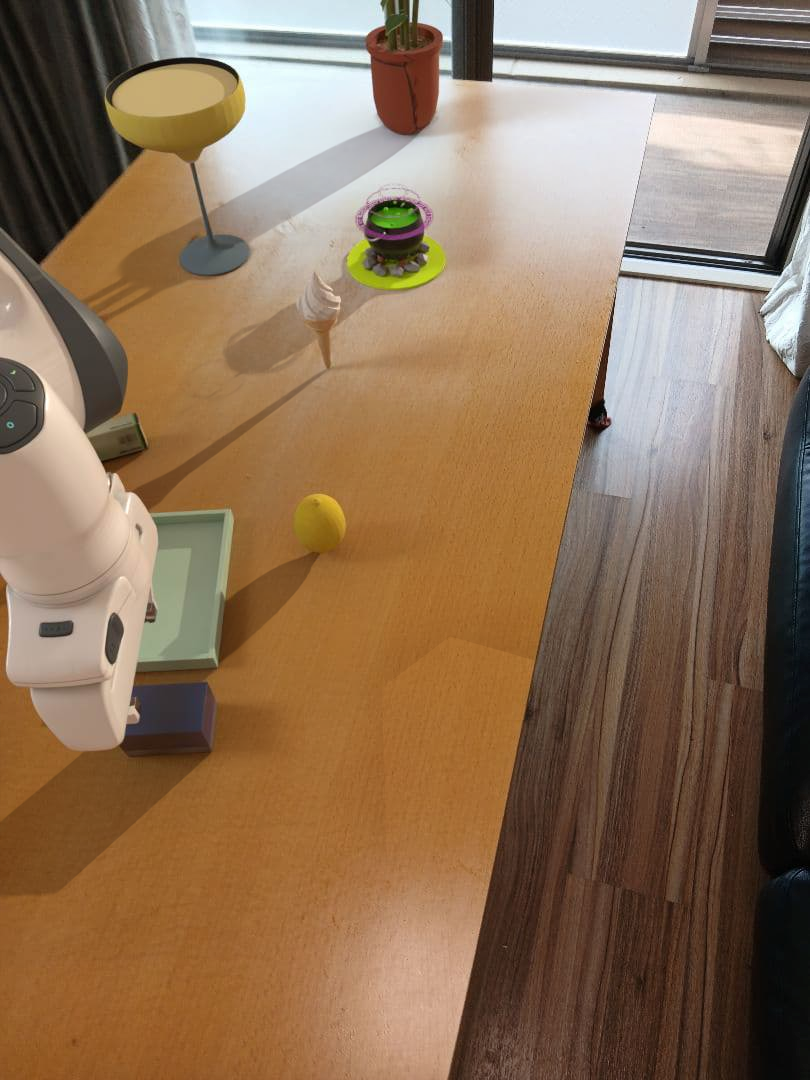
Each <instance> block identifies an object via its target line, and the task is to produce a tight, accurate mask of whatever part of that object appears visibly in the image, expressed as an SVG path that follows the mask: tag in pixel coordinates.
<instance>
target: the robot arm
mask: <svg viewBox="0 0 810 1080" xmlns="http://www.w3.org/2000/svg"><path fill="white" fill-rule="evenodd" d="M128 361H129V360H128V356H127V353H126V351H125V349H124V347H123V345H122V343H121V341H120V340H119V339H118V337H117V335H116V334H115V333H114V331H113V330H112V329H111V328H110V327H109V326H108V325H107V324H106V323H105V321H104V320H103V319H102V318H101V317H99V315H98V314H97V313H95V311H94V310H92V309H91V308H90V307H89V306H88V305H87V304H85V303H84V302H83V301H82V300H81V299H80V298H79V297H77V296H76V295H75V294H73V293H72V292H71V291H70V290H68V289H67V288H66V287H65V286H64V285H62V284H61V283H60V282H58V281H57V280H56V279H55V278H54V277H52V276H51V275H50V274H49V273H48V272H47V271H46V270H45V269H43V267H41V266H40V265H39V263H37V261H35V260H34V259H33V258H32V257H31V256H30V255H29V253H27V252H26V251H25V250H24V249H23V248H22V247H21V246H20V245H19V244H18V243H17V242H16V241H15V240H14V239H13V238H12V237H11V236H10V235H9V234H8V232H6V231H5V230H4V229H3V228H2V227H1V226H0V575H1V577H2V578H3V579H4V581H5V583H7V584H6V588H5V596H6V604H7V614H8V633H7V634H8V637H7V650H6V660H5V672H6V676H7V678H8V681H10V682H11V683H12V684H13V685H14V686H15V687H19V688H29V691H30V698H31V701H32V704H33V706H34V709H35V710H36V712H37V714H38V716H39V717H40V719H41V720H42V721H43V723H44V724H45V725H46V726H47V727H48V729H49V730H50V731H51V732H52V733H53V735H54V736H55V737H56V738H57V739H58V740H59V741H60V742H61V743H62V744H63V746H65V747H66V748H68V749H69V750H70V751H71V750H72V751H76V752H98V751H99V752H100V751H108V750H112V749H115V748H116V747H118V746H119V745H120V744H121V743H122V741H123V739H124V736H125V729H126V724H135V723H138V722H139V718H140V712H141V703H139V700H138V699H137V697H131V695H132V689H133V686H134V682H135V678H136V673H137V672H136V666H137V661H138V655H139V649H140V644H141V638H142V632H143V627H144V623H146V622H149V623H153V622H155V620H156V615H157V610H158V605H157V603H156V601H155V599H154V594H153V586H152V576H153V570H154V564H155V559H156V553H157V548H158V533H157V528H156V525H155V523H154V521H153V519H152V517H151V516H150V514H149V513H150V512H149V510H148V509H147V507H146V506H145V504H144V503H143V501H142V500H141V498H140V497H139V496H138V495H137V494H136V493H135V492H132V491H127V492H126V489H125V487H124V484H123V482H122V480H121V478H120V476H119V475H118V474H117V472H112V471H107V472H106V470H105V467H104V466H103V463H102V461H100V459H99V457H98V456H97V454H96V452H95V450H94V448H93V446H92V445H91V443H90V441H89V439H88V438H87V436H86V433H88V432H90V431H91V430H93V429H95V428H96V427H98V426H100V425H101V424H103V423H104V422H106V421H108V420H110V419H113V418H115V417H116V416H118V415H119V414H120V412H121V410H122V408H123V405H124V401H125V397H126V392H127V387H128V379H129V362H128Z"/></svg>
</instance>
